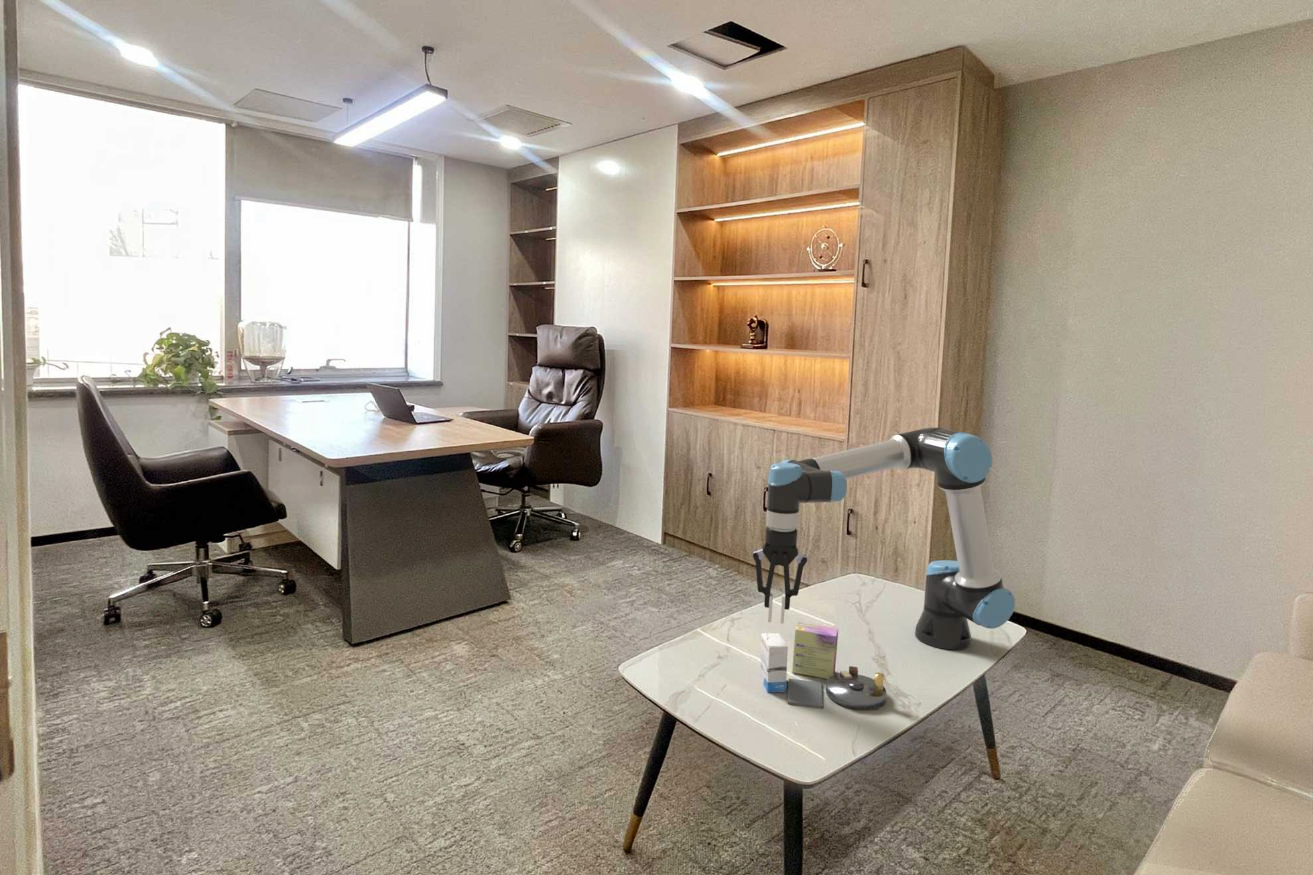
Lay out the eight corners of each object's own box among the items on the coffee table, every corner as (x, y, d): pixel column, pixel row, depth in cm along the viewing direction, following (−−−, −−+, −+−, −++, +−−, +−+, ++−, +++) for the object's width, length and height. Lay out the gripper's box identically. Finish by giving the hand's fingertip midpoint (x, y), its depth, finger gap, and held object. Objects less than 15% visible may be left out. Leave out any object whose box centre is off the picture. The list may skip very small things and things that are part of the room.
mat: (821, 684, 183) (821, 682, 183) (822, 708, 172) (822, 705, 172) (788, 680, 185) (788, 678, 185) (787, 703, 173) (787, 701, 173)
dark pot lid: (894, 693, 179) (896, 666, 178) (871, 715, 168) (873, 687, 167) (841, 675, 188) (842, 649, 187) (815, 695, 177) (817, 667, 176)
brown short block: (856, 678, 188) (857, 666, 187) (857, 682, 185) (858, 671, 185) (848, 677, 188) (849, 666, 187) (849, 681, 186) (849, 670, 185)
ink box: (786, 692, 179) (789, 646, 177) (765, 692, 178) (768, 646, 177) (777, 676, 187) (780, 632, 186) (758, 676, 187) (760, 632, 185)
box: (835, 670, 191) (838, 627, 190) (833, 680, 186) (836, 636, 184) (795, 663, 195) (798, 621, 193) (791, 673, 189) (794, 629, 188)
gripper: (814, 526, 179) (807, 618, 183) (750, 520, 182) (745, 611, 185) (814, 534, 172) (808, 630, 175) (748, 528, 175) (743, 623, 178)
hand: (776, 620), depth 180 cm, fingers open, 2 cm apart
